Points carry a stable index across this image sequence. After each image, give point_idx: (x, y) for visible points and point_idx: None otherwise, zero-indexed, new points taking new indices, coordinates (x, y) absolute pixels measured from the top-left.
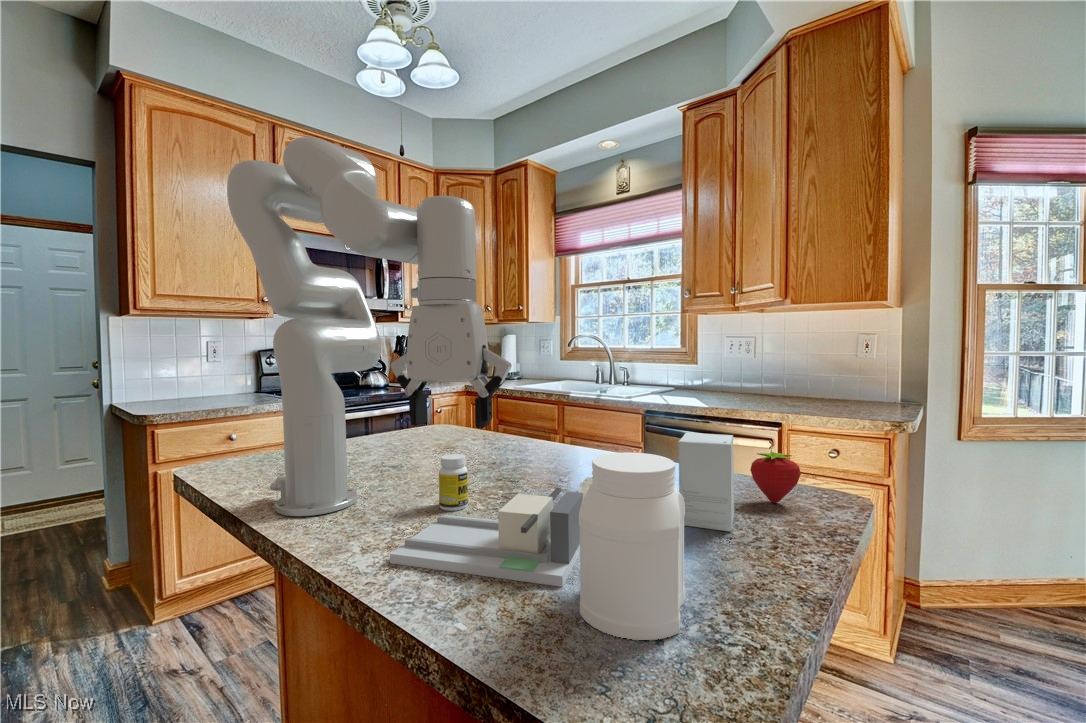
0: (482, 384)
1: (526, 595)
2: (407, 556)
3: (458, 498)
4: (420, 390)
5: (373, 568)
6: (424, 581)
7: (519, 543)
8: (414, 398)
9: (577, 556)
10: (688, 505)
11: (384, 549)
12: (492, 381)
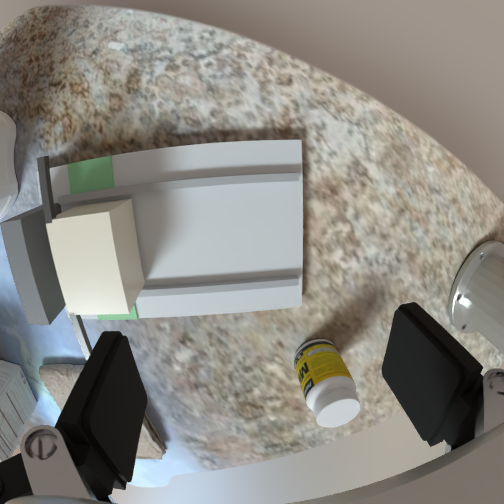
0: (30, 482)
1: (71, 132)
2: (269, 140)
3: (304, 357)
4: (457, 432)
5: (311, 120)
6: (213, 107)
7: (94, 205)
8: (461, 369)
9: None
10: (3, 377)
11: (335, 181)
12: (1, 488)
